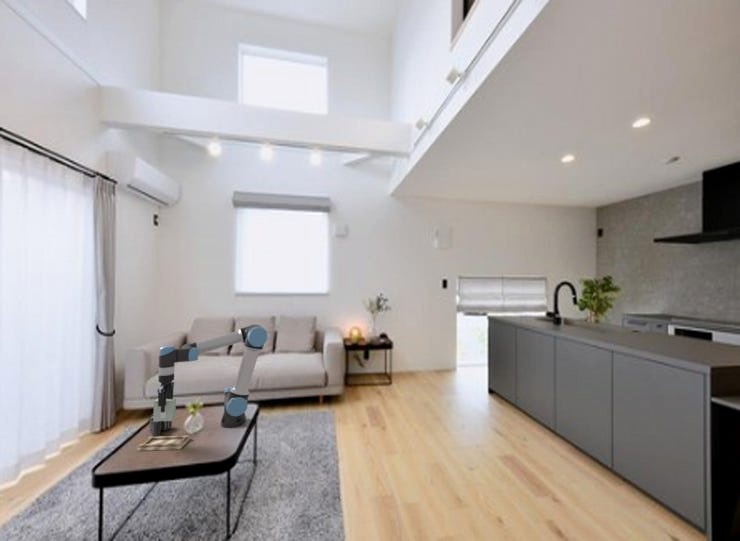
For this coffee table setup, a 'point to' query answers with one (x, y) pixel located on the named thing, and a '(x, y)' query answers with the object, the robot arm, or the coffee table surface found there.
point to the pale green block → (169, 410)
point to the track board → (164, 443)
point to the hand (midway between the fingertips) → (165, 415)
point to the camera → (158, 426)
